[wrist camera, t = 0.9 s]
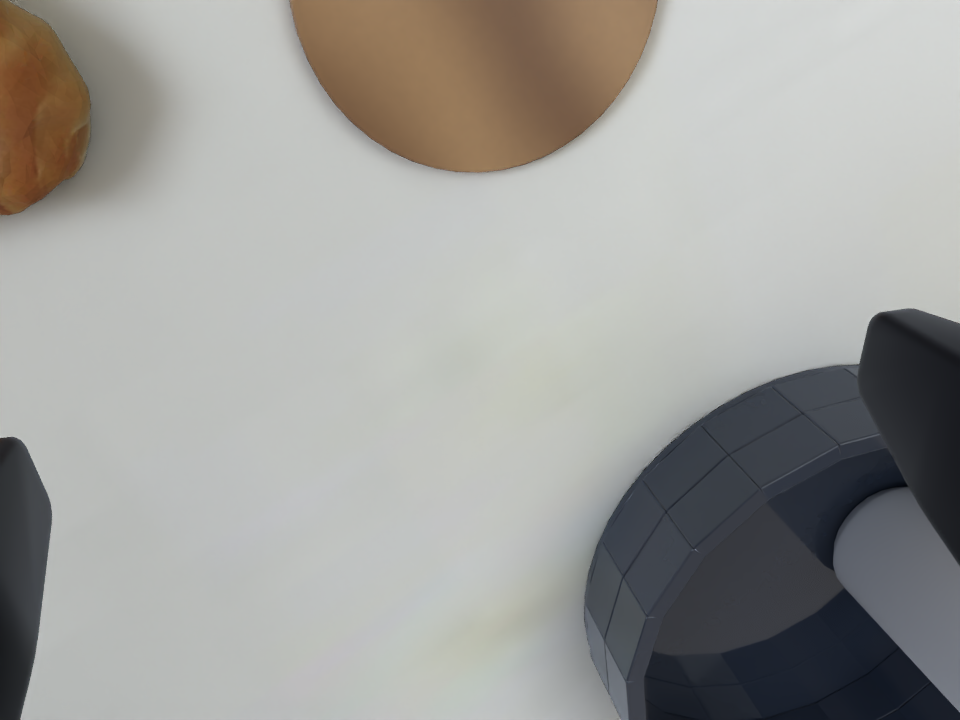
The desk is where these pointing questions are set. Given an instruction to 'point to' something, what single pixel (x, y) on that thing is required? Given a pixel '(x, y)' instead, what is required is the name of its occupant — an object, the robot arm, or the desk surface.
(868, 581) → the beverage can
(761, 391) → the pan
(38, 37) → the pastry
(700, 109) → the desk surface
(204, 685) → the desk surface
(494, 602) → the desk surface
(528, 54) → the coaster
